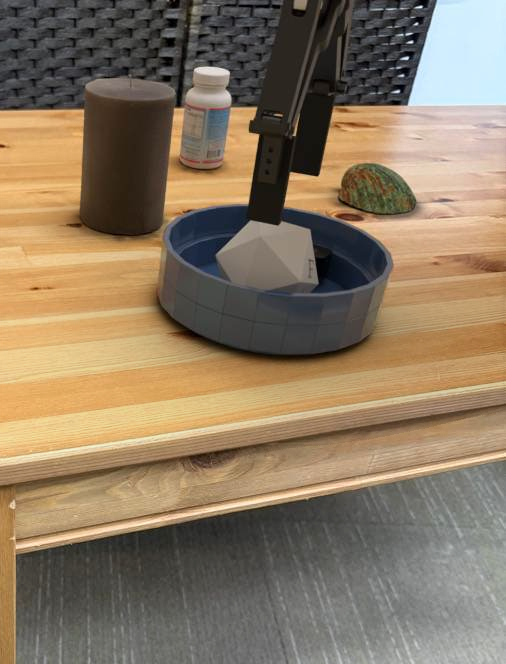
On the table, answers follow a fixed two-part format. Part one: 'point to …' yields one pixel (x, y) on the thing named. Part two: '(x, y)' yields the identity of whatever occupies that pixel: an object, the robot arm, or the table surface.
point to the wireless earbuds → (322, 261)
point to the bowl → (264, 305)
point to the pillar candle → (125, 154)
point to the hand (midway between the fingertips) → (285, 196)
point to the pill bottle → (206, 119)
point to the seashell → (376, 189)
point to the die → (270, 258)
